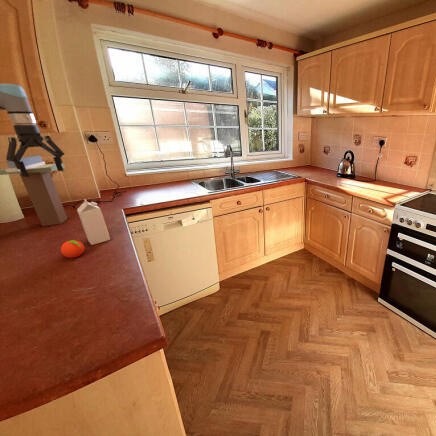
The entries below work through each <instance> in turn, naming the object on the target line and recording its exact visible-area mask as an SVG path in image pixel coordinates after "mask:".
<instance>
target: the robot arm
mask: <svg viewBox="0 0 436 436" xmlns="http://www.w3.org/2000/svg"><path fill="white" fill-rule="evenodd" d="M0 111H6V114H7V115H8V118H9V120H10V122H11V124H12V125H13V126H12V127H13V130H14V132H15V134H16V136H17V137H13V136H9V137H8V138H7V139H8V147H7V153H6V158H5V161H13V162H14V163H15V166H16V168H17V169H19V170H20V171H21V173H22V176H23V177H29V175H28V173H27V170H26V168H25V166H24V163H23V162H21V161H20V160H21V158H23V157H24V155H25V153H26V152H27V150H28V149H29V148H42V149H43V150H45V151H46V152H47V153H49V154H51V156H53V157H52V159H53V161H54V164H56V167H57V169H58V170H57V172H64V171H65V170H64V168H62V165H61V164H62V163H63V160H62V157H63V156H64V155H65V153H64V152H63V150H62V149H61V148H60V147H59V146H58V145H57V144H56V143H55V142H54V141H53V140H52V137H51V136H50V135H43V136H42V135H41V131H40V128H39V126H38V125H37V120H36V118H35V115H34V113H33V110H32V107H31V104H30V102H29V99H28V96H27V94H26V91H25V89H24V88H23V87H22V86H21V85H19V84H14V83H0ZM43 141H44V142H43ZM18 142H19V143H20V145H19V148H18V149H17V145H18ZM45 142H46V143H47V144H48V145H47V144H46V143H45ZM16 150H17V151H16Z"/></svg>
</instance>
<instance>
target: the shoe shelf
mask: <svg viewBox="0 0 436 436" xmlns="http://www.w3.org/2000/svg"><path fill="white" fill-rule="evenodd" d="M61 165H62V168H63V169H64V168H66V166H65V165H66V164H65V163H64V162H62V164H61ZM8 168H9V167H6V168H3V169H0V176H3V175H18V174H19V177H20V178H21V181H22V183H23V186H24V187H25V190H26V192H27V194H28V198H29V199H30V201H31V204H32V206H33V208H34V211H35V213H36V216H37V217H38V220H39V222H40V224H41V226H42V227H45V226H46V227H47V226H53V225H55V226H56V225H61V224H62V223H64V222H66V221H67V220H68V216H67V212H66V210H65V208H64V206H63V203H62V201H61V198H60V195H59V193H58V189H57V188H56V185H55V182H54V180H53V177H52V175H51V172H55V171H58V169H57V167H56V164H55V163H45V164H44V165H41V166H37V167H33V168H30V169H26V170H27V173H28V175H29V177H23V176H22V173H21V171H17V172H6V170H5V169H8Z"/></svg>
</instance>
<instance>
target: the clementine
mask: <svg viewBox="0 0 436 436" xmlns="http://www.w3.org/2000/svg"><path fill="white" fill-rule="evenodd" d="M84 251H85V246H84V243H83V242H82V241H79V240H77V239H70V240H67V241H65V242H64V243H63V244H62V245H61V246H60V253H61V254H62V255H63V256H64V257H65V258H71V259H73V258H77V257H80V256H81V255H82V254H83V253H84Z"/></svg>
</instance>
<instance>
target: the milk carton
mask: <svg viewBox="0 0 436 436" xmlns="http://www.w3.org/2000/svg"><path fill="white" fill-rule="evenodd" d="M83 200H84V201H83V202H82V204H80V206H79V207H77V209H76V211H77V214H78V216H79V217H78V218H79V219H80V221H81V225H82V228H83V230H84V233H85V237H86V238H87V241H88V243H89V244H90V245H91V246H94V245H97V244H100V243H105V242H107V241H111V236H110V233H109V231H108V228H107V224H106V221H105V218H104V215H103V212H102V209H101V207H99V206H98V203H97V202H95V201H91V202H89V201H87V200H86V199H85V198H84V199H83Z"/></svg>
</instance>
